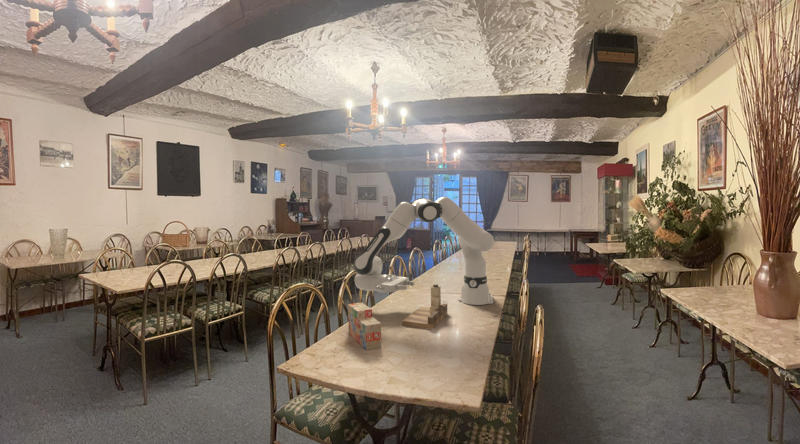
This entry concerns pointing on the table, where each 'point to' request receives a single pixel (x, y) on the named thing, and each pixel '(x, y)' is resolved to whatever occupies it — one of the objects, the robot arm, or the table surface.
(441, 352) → the table surface
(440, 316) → the fenced board
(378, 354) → the table surface
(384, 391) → the table surface
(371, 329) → the stack of blocks
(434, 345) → the table surface
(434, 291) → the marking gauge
